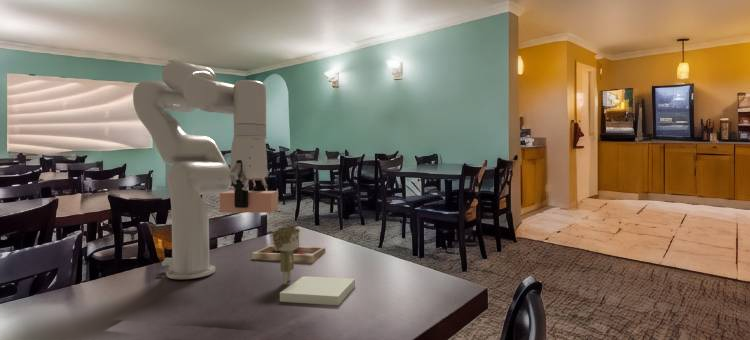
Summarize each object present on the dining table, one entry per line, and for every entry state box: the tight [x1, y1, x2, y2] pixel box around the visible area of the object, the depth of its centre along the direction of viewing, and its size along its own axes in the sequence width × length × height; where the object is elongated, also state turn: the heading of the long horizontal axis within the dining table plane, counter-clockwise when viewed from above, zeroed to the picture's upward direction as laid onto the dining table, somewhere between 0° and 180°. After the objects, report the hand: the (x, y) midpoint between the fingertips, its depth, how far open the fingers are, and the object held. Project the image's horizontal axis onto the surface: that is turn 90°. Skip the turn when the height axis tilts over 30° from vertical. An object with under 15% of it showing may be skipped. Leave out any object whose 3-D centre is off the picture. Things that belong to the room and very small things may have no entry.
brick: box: [219, 190, 279, 214], centre depth 100 cm, size 12×7×4 cm, turn 90°
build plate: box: [279, 275, 356, 306], centre depth 99 cm, size 14×14×2 cm
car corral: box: [252, 245, 327, 264], centre depth 133 cm, size 20×12×4 cm, turn 78°
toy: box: [272, 225, 301, 285], centre depth 110 cm, size 7×7×15 cm
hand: (250, 205), depth 100 cm, fingers closed on brick, 7 cm apart
